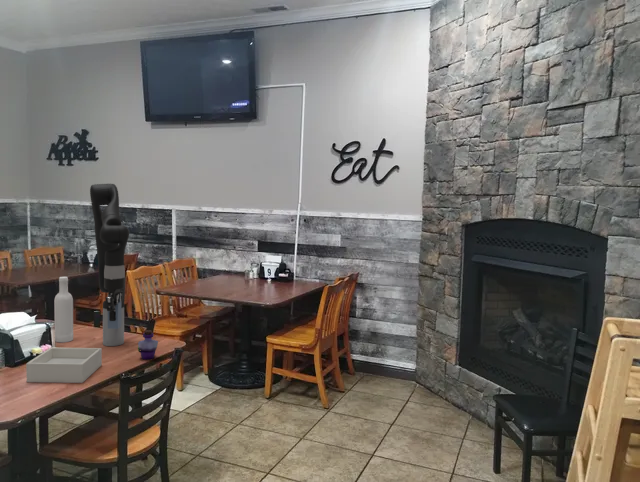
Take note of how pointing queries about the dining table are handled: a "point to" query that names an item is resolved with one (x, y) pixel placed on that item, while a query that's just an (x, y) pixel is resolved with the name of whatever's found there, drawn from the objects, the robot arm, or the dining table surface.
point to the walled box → (64, 365)
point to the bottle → (63, 312)
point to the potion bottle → (147, 346)
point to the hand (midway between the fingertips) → (114, 319)
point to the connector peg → (117, 322)
